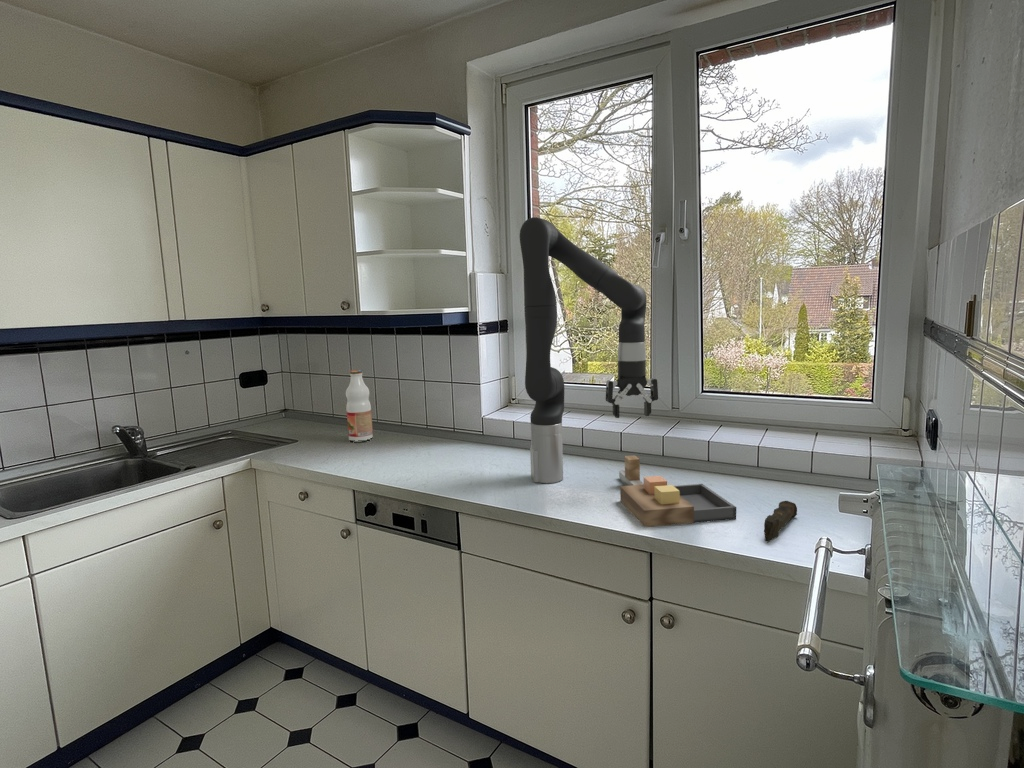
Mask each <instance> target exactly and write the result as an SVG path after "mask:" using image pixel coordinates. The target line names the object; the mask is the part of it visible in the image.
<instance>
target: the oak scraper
mask: <svg viewBox="0 0 1024 768" xmlns="http://www.w3.org/2000/svg"><path fill="white" fill-rule="evenodd" d="M640 462H641V460H640V458H639V457H637V456H636V455H625V456H624V470H619V471H618V476H619V478H620V479H621V480H622V481H623V482H624V483H623V482H622V481H621V480H620V479H619V478H618V479H619V480H620V481H621V482H622V483H623V484H624V486H631V485H644V481H641V470H640V469H641V467H640V466H641V464H640Z"/></svg>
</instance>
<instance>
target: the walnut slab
mask: <svg viewBox="0 0 1024 768" xmlns="http://www.w3.org/2000/svg"><path fill="white" fill-rule="evenodd" d="M619 488H620V489H619V491H620V492H619V493H620V494H619V495H620V498H619V499H620V503H622V504H623V506H624V507H625V508H626V509H627V510H628V511H629V512H630V514H631V515H632V516H634V518H635V519H636V520H637V521H638V522H639V523H640V524H641V525H642V526H643V527H644V528H650V527H660V526H672V525H671V524H675V525H684V523H687V524H695V523H694V506H693V505H691V504H690V503H689V502H688V501H686V500H685V499H684V498H683V497H681V496H680V503H673V504H660V503H659V502H658V501H657V500H656V499H655V498H654V494H649V493H648V492H647V491H646V490H645V489H644V485H631V486H626V485H620V486H619Z"/></svg>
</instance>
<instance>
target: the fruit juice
mask: <svg viewBox="0 0 1024 768" xmlns="http://www.w3.org/2000/svg"><path fill="white" fill-rule="evenodd" d="M363 374H364V373H363V370H362V369H354V370H353V369H351V370H349V376H350V381H349V384H348V387H347V388H346V389H345V396H346V399H347V402H346V406H345V407H346V408H345V409H346V419H347V421H346V422H347V431H348V432H347V433H348V441H349V440H355V441H358V440H367V439H370V438H372V437H373V438H374V433H373V431H374V429H373V419H372V418H373V417H372V406H371V401H370V389H369V387H368V386H367V385H366V384H365V381H364V379H363Z"/></svg>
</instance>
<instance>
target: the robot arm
mask: <svg viewBox="0 0 1024 768" xmlns="http://www.w3.org/2000/svg"><path fill="white" fill-rule="evenodd" d="M519 245H520V250H521V251H520V252H521V257H522V267H523V292H524V293H523V295H524V297H523V298H524V303H523V304H524V305H523V306H524V321H525V323H524V325H525V344H526V345H525V347H526V348H525V349H526V353H525V354H526V356H525V357H526V358H525V361H526V362H525V373H524V387H525V391H526V393H527V395H528V397H529V398H530V399H531V400H533V401H535V405H534V408H533V410H532V411H531V413H530V417H529V418H530V441H531V442H530V443H531V445H530V446H529V453H530V455H529V456H530V477H531V480H532V481H533V483H538V484H539V483H540V484H552V483H553V484H554V483H558V482H561V481H563V480H564V457H563V456H564V455H563V454H564V450H563V415H564V411H565V380H564V376H563V375H562V373H561V371H559V370H558V369H557V368H555V367H553V366H552V365H551V352H552V351H551V349H552V344H553V341H554V337H555V334H556V331H557V326H558V303H557V295H556V291H555V287H554V284H553V281H552V277H551V273H550V265H549V263H550V262H549V259H550V258H549V257H551V258H552V259H554V260H556V261H558V262H560V263H561V264H562V265H564V266H565V267H566V268H567V269H569V270H570V271H571V272H572V273H573V274H574V275H576V276H577V277H578V278H579V279H580V280H582V281H583V282H584V283H586V284H587V285H589V286H590V287H591V288H593V289H594V290H596V291H597V292H598V293H601V294H603V296H605V297H606V298H607V299H608V300H610V301H611V303H613V304H615V305H616V306H617V307H619V308H620V309H621V310H620V311H621V312H620V313H621V315H620V316H621V317H620V318H621V319H620V322H619V324H618V344H617V345H618V346H617V380H610V379H609V380H607V381H606V382H605V386H606V387H605V402H606V403H607V402H608V403H609V404H612V415H613V416H614V418H615V419H619V418H620V402H621V401H622V399H624V398H625V396H627V397H628V396H629V397H630V396H641V397H642V399H643V400H644V402H643V415H644V416H645V417H650V415H651V414H652V403H653V402H654V401H658V400H659V386H658V379H657V378H654V377H651V378H648V379H647V377H646V374H647V368H646V367H647V365H646V364H647V363H646V361H647V360H646V359H647V351H646V349H647V348H646V330H645V329H646V328H645V327H646V326H645V321H646V314H647V293H646V291H645V289H644V288H643V287H642V286H640V285H637V284H633V283H632V282H630V281H628V280H627V279H625V278H624V277H622V276H621V275H620V274H618V272H617V271H615V270H614V269H613V268H612V267H611V266H609V265H607V264H605V263H604V261H603V262H602V261H601V260H600V259H598V258H596V257H595V256H593V255H591V254H589V253H588V252H586V251H585V250H583V249H582V248H580V247H579V246H578V245H576V244H574V243H573V242H572V241H571V240H570V239H568V238H567V236H565V235H564V234H563V233H562V232H561V231H560V230H559V229H558V228H557V227H556V226H555V224H553V223H552V222H551V221H549V220H547V219H544V218H541V217H536V216H535V217H529V218H528V219H526V220H525V221H524V222H523V223H522V225H521V227H520V230H519ZM647 385H648V386H649V389H650V395H649V394H648V392H647V391H646V390H645V388H646V386H647ZM616 386H617V387H618V390H617V392H616V393H615V395H613V393H614V389H615V388H616ZM613 396H614V397H613Z"/></svg>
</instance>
